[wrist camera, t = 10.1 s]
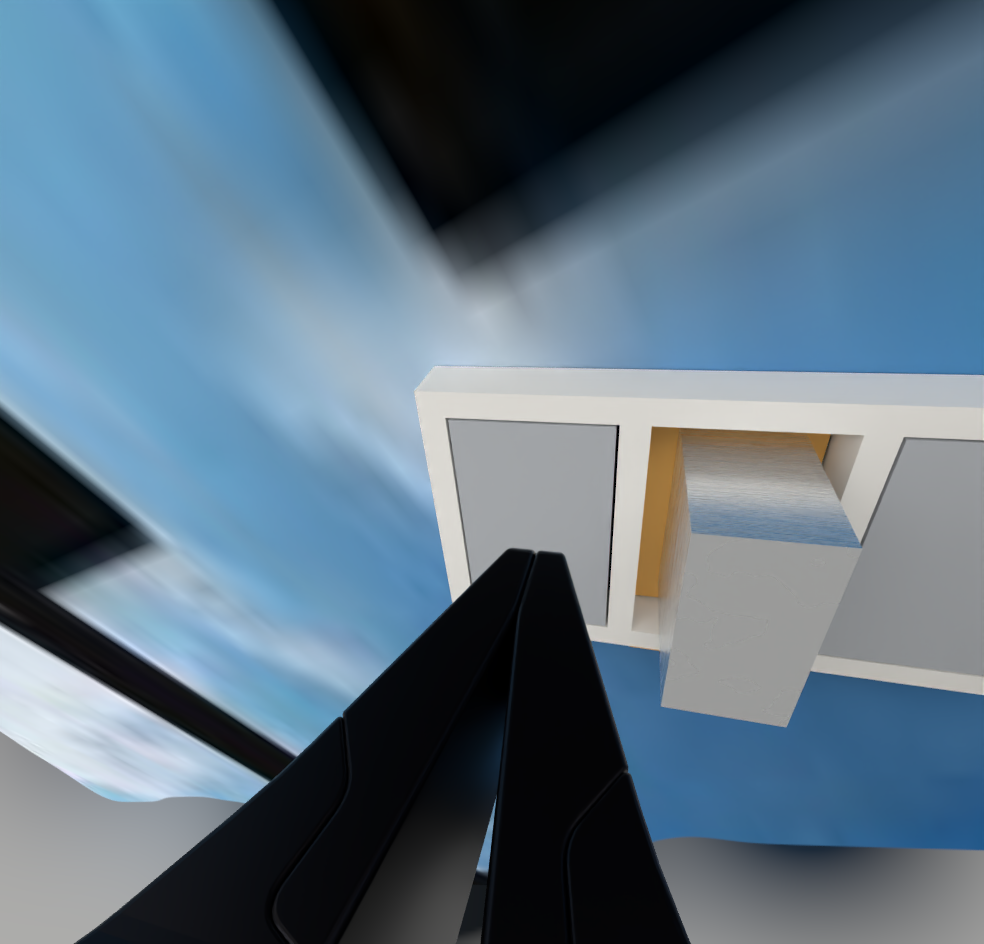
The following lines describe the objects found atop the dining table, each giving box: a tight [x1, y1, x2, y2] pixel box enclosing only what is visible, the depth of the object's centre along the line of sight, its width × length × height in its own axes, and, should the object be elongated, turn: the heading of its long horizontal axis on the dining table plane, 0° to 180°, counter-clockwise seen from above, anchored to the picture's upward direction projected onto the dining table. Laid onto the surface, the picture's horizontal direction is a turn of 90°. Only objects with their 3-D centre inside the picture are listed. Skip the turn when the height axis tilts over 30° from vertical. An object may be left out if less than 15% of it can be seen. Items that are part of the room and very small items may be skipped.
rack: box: [414, 366, 984, 695], centre depth 20 cm, size 22×12×2 cm, turn 95°
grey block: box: [658, 428, 862, 727], centre depth 18 cm, size 4×8×6 cm, turn 4°
